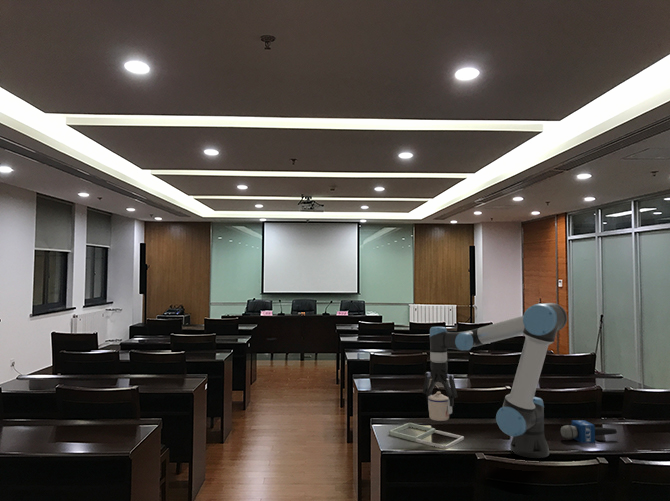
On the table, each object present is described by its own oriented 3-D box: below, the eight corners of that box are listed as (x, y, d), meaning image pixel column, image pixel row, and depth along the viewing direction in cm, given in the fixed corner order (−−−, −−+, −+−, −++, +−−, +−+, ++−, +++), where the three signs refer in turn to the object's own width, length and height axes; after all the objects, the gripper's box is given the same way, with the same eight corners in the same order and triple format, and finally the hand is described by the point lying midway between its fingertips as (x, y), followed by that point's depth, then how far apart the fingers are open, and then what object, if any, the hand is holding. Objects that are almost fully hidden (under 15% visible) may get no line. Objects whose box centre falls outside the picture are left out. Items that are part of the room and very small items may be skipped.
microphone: (620, 424, 217) (566, 425, 216) (620, 442, 217) (566, 443, 215) (609, 419, 225) (557, 420, 224) (610, 436, 225) (557, 437, 223)
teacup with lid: (450, 421, 213) (450, 394, 214) (429, 421, 214) (429, 394, 214) (447, 414, 225) (446, 388, 225) (427, 413, 225) (426, 388, 226)
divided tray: (464, 439, 220) (464, 435, 220) (445, 449, 207) (445, 445, 207) (409, 426, 239) (409, 422, 239) (389, 434, 226) (389, 430, 226)
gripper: (464, 362, 216) (466, 414, 214) (422, 358, 230) (423, 406, 229) (457, 364, 211) (458, 417, 209) (413, 360, 225) (415, 409, 223)
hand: (440, 411), depth 219 cm, fingers closed on teacup with lid, 9 cm apart
